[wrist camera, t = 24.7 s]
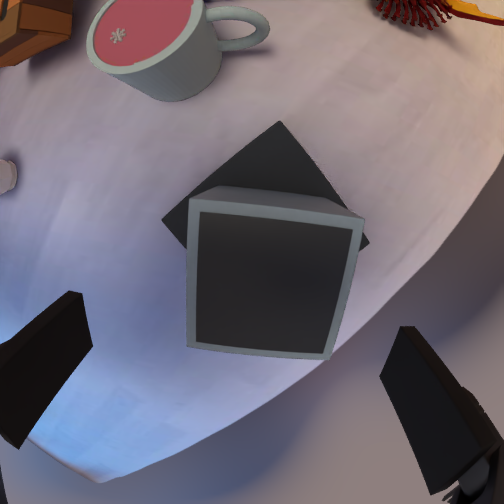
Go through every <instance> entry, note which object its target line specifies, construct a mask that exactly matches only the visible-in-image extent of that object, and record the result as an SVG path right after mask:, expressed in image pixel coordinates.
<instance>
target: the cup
mask: <svg viewBox="0 0 504 504" xmlns="http://www.w3.org/2000/svg"><path fill="white" fill-rule="evenodd" d="M16 180H17V170H16V165H15V164H14V163H13V162H12V161H8V162H6V161H5V160H2V159H0V195H1V194H3V193H4V192H6V191H7V192H8V191H10V190H11V189H13V188H14V187H15V184H16Z"/></svg>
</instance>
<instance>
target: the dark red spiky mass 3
mask: <svg viewBox="0 0 504 504" xmlns="http://www.w3.org/2000/svg"><path fill="white" fill-rule="evenodd" d="M377 1H378V0H377ZM384 1H385V2H386V1H387V0H382V1H381V2H380V4H379V5H378V6H377V7H376V9H377V10H378V11H379V12H381V11H382V9H381V8H382V7H383V4H384ZM393 1H395V3H396V11H395V13H394V15H393V16H392V17H391V19H392V20H393V21H395V20H396V17H398V18H400V16H401V15H400V11H401V3H400V0H389V3H388V5H387V7H386V8H385V9H384V11H385V14H383V17H385V18H386V19H387V18H388V17H389V16H388V15H389V14H390V11H391V8H392V4H393ZM402 1H403V6H404V10H405V14H404V15H403V16H404V18H403V20H401V21H402V23H403V24H406V23H407V21H406V20H409V17H408V14H409V10H408V5H409V7H410V10H411V12H412V19H411V23H410V24H411V25H412V26H415V21H417V20H418V18H417V13H416V10H417V12H418V14H419V24H418V25H419V26H420V27H424V26H423V24H422V22H423V23H424V24H426V25H428V28H427V29H429V30H433V29H432V27H431V25H430V22H429V20H430V21H432V22H433V23H434V25H433V26H435V27H439V25H438V24H437V23H436V21H435V19H434V17H433V16H432V14H431V13H430V12H429V10H428V9H427V5H428V6H430V7H431V8H433V9H434V10H435V11H436V12H437V16H438V17H440V18H441V20H442V21H441V22H443V23H446V22H447V21H445V20H444V18H443V17H442V14H440V12H439V11H438V9H437V8H436V7H435V5H437V6H438V8H439V9H440V11H441V12H442V11H443V12H444V13H445V14H446V16H447V19H451V18H452V16H451V17H450V16H449V15H448V12H449V13H451V14H453V15H455V16H457V17H460V18H465V19H471V20H476V21H481V22H485V23H489V24H493V25H499V26H504V19H502V18H499V17H496V16H493V15H489V14H486V13H482V12H480V11H479V9H478V7H477V6H476V4H471V3H466V2H463V1H461V0H426V1H427V2H426V1H425V0H408V1H407V0H402ZM407 2H408V4H407ZM417 2H418V4H417ZM428 2H429V3H428ZM434 4H435V5H434ZM418 5H419V6H420V7H422V8H423V9H424V10H425V11H427V14H428V16H429V18H427V17H426V15H425V14H424V13H423V11H422V10H421V8H420V7H419V6H418ZM412 6H413V7H412ZM415 8H416V9H415ZM428 19H429V20H428Z"/></svg>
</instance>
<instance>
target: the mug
mask: <svg viewBox="0 0 504 504" xmlns="http://www.w3.org/2000/svg"><path fill="white" fill-rule="evenodd" d="M219 20H240V21H244V22H248V23H250V24H252V25H254V26H255V27H256V31H255V32H254V33H252V34H251V35H249V36H246V37H243V38H239V39H233V40H218V38H217V35H216V32H215V30H214V27H213V24H212V22H213V21H219ZM269 31H270V26H269V22H268V21H267V19H266V18H265V17H264V16H263V15H261V14H260V13H258V12H256V11H254V10H251V9H248V8H244V7H236V6H222V7H215V8H210V9H206V6H205V4H204V1H203V0H109V1H108V2H107V3H106V4H105V5H104V6H103V7H102V8H101V9H100V11H99V12H98V13H97V15H96V16H95V18H94V20H93V22H92V24H91V26H90V28H89V31H88V35H87V40H86V49H87V54H88V57H89V59H90V61H91V62H92V64H93V65H94V66H95V67H96V68H98V69H99V70H101V71H103V72H105V73H107V74H109V75H111V76H113V77H115V78H117V79H119V80H121V81H123V82H125V83H127V84H129V85H130V86H132V87H134V88H136V89H138V90H140V91H141V92H143V93H145V94H147V95H149V96H150V97H152V98H154V99H157V100H160V101H166V102H174V101H181V100H184V99H187V98H190V97H192V96H194V95H196V94H198V93H199V92H201V91H202V90H204V89H205V88H206V87H207V86H208V85H209V84H210V83H211V82H212V81H213V79H214V78H215V77H216V75H217V73H218V71H219V69H220V66H221V62H222V51H235V50H241V49H245V48H249V47H252V46H255V45H257V44H259V43H260V42H262V41H263V40H264V39H265V38H266V37H267V36H268V34H269Z"/></svg>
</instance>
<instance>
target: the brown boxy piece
mask: <svg viewBox="0 0 504 504" xmlns="http://www.w3.org/2000/svg"><path fill="white" fill-rule="evenodd" d="M72 9H73V0H0V67H7V66H15V65H17V64H19V63H21V62H23V61H24V60H26V59H28V58H30V57H32V56H34V55H36V54H38V53H40V52H42V51H44V50H46V49H49V48H51V47H53V46H55V45H58V44H60V43H62V42H65V41H67V40H70V39H71V23H72V16H73V12H72Z"/></svg>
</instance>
